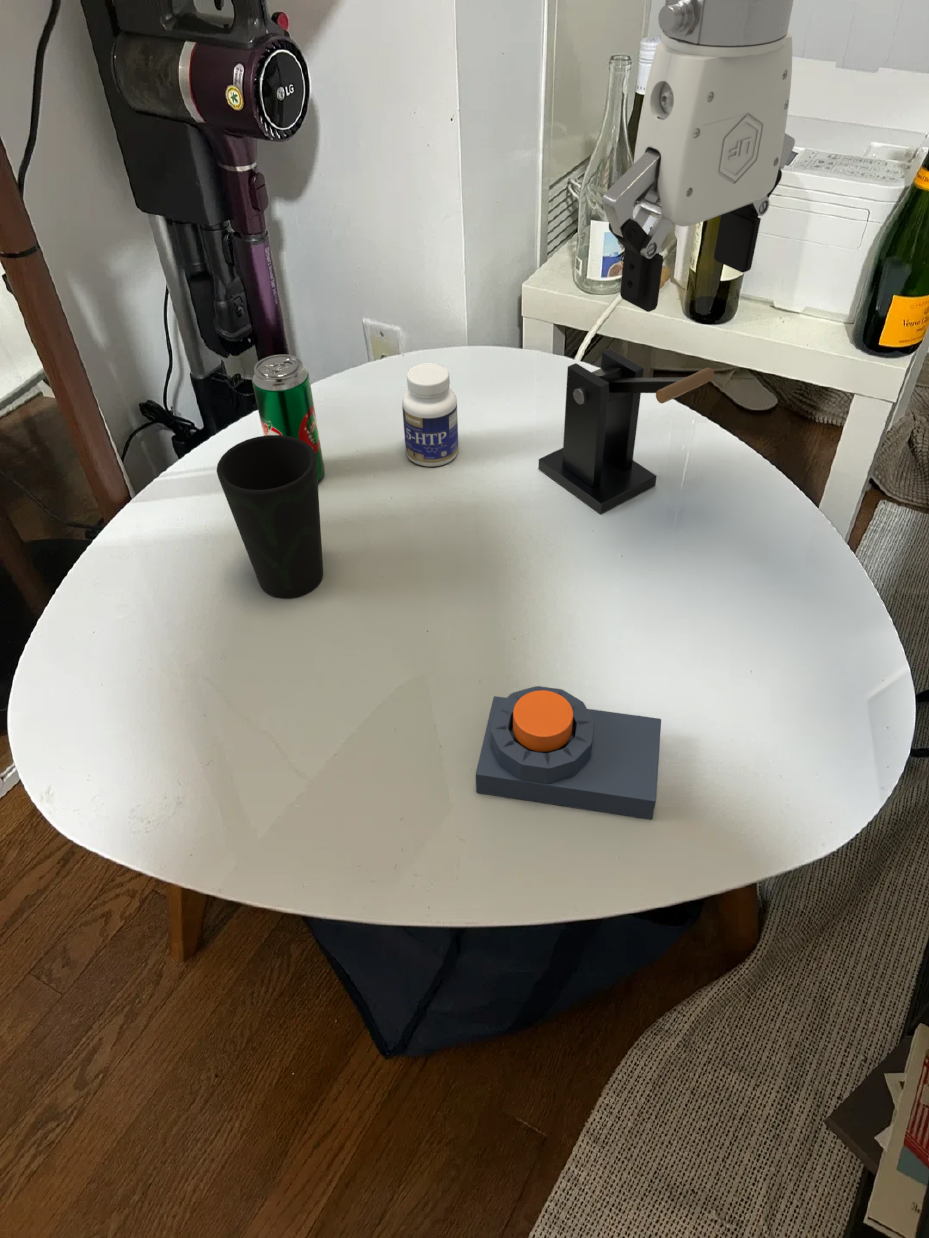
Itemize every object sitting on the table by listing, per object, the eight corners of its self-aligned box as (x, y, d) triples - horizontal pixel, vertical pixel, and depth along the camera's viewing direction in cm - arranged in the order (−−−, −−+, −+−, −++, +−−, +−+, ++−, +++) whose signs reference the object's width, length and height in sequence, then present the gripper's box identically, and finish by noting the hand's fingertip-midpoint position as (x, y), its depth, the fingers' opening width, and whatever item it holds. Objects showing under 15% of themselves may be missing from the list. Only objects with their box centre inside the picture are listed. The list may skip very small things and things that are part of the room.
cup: (353, 574, 80) (336, 459, 71) (285, 620, 76) (257, 505, 68) (296, 536, 84) (273, 423, 75) (228, 579, 80) (196, 465, 71)
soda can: (264, 474, 91) (239, 364, 82) (308, 455, 93) (289, 346, 84) (289, 499, 88) (266, 387, 79) (334, 478, 90) (317, 368, 81)
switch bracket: (655, 486, 87) (671, 375, 79) (600, 514, 85) (610, 402, 76) (592, 443, 93) (600, 335, 84) (538, 469, 90) (541, 359, 82)
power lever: (717, 388, 74) (712, 359, 74) (668, 412, 72) (662, 382, 71) (619, 388, 84) (613, 362, 83) (573, 408, 82) (567, 382, 81)
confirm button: (575, 710, 64) (576, 693, 63) (568, 756, 61) (569, 740, 60) (518, 702, 64) (518, 686, 63) (508, 747, 62) (508, 731, 61)
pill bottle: (401, 466, 91) (393, 386, 85) (411, 436, 95) (405, 357, 88) (454, 470, 90) (450, 390, 84) (462, 439, 94) (460, 361, 88)
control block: (657, 737, 66) (664, 702, 64) (652, 819, 62) (659, 785, 59) (493, 714, 68) (493, 679, 66) (476, 792, 64) (474, 758, 61)
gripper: (668, 53, 50) (635, 341, 62) (868, 0, 57) (803, 269, 69) (577, 27, 55) (563, 301, 67) (773, -19, 62) (728, 237, 74)
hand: (686, 284), depth 68 cm, fingers open, 9 cm apart
